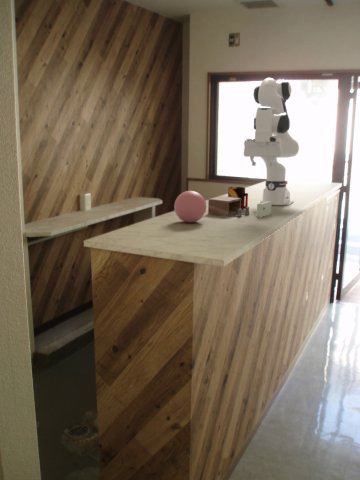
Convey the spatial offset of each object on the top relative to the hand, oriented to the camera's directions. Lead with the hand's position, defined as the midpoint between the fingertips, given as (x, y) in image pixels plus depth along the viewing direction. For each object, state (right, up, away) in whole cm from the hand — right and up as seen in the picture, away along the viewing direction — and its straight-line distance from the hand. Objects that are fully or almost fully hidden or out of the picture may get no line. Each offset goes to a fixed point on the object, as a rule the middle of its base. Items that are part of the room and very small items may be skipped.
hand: (262, 165), depth 256 cm
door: (+1, -26, +3) cm, 26 cm away
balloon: (-37, -30, -16) cm, 51 cm away
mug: (-9, -22, +23) cm, 33 cm away
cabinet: (-17, -25, +7) cm, 31 cm away
